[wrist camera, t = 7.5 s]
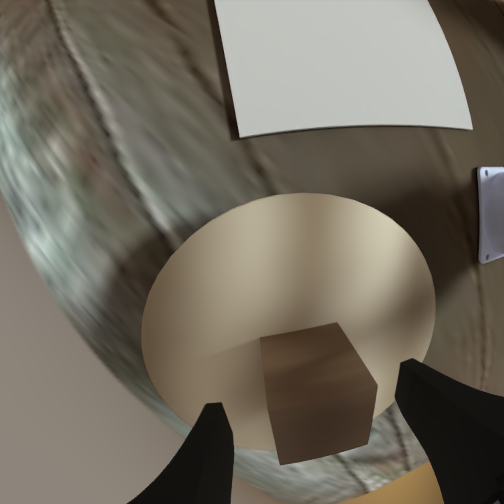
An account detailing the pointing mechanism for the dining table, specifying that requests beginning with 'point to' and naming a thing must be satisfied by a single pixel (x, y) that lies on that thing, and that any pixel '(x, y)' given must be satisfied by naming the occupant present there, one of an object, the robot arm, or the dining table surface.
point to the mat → (338, 65)
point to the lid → (289, 322)
